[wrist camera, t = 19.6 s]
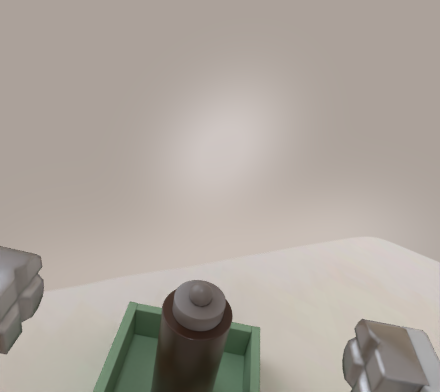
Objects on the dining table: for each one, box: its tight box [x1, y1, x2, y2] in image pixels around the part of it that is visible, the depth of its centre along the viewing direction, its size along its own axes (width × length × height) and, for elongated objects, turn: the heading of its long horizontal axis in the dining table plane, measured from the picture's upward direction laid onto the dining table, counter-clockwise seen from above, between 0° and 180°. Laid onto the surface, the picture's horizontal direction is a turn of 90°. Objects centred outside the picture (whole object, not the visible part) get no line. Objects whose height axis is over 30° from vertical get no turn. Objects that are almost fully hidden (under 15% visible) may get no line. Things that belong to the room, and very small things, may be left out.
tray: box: [93, 302, 260, 392], centre depth 32 cm, size 13×13×4 cm
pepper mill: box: [151, 280, 232, 392], centre depth 29 cm, size 5×5×13 cm
